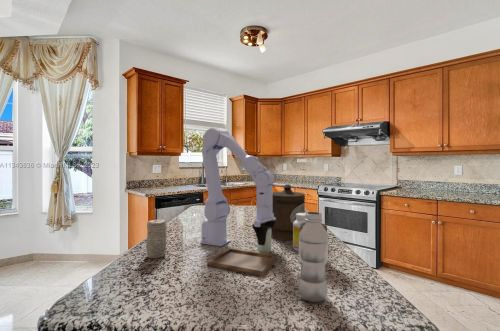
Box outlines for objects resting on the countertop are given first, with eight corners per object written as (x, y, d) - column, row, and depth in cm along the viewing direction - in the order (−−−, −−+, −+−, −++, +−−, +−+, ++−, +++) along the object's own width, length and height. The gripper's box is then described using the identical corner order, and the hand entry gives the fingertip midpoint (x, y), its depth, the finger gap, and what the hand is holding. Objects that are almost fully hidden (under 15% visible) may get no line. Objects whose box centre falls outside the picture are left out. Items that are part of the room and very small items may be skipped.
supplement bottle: (311, 253, 92) (312, 216, 91) (292, 251, 93) (292, 215, 93) (311, 247, 98) (311, 212, 98) (293, 245, 100) (293, 212, 99)
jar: (333, 265, 81) (333, 226, 81) (312, 270, 77) (312, 229, 77) (314, 256, 89) (314, 220, 89) (294, 260, 85) (294, 223, 85)
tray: (207, 265, 80) (207, 260, 80) (229, 251, 93) (229, 247, 93) (262, 276, 73) (262, 271, 73) (277, 259, 86) (277, 254, 86)
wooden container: (301, 242, 104) (302, 186, 104) (265, 238, 109) (265, 185, 109) (306, 232, 118) (307, 183, 117) (274, 229, 123) (274, 182, 123)
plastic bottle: (294, 292, 64) (295, 210, 64) (321, 291, 65) (322, 210, 65) (302, 307, 58) (303, 216, 58) (332, 305, 59) (333, 215, 58)
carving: (145, 261, 84) (145, 223, 84) (147, 253, 91) (147, 218, 91) (166, 259, 86) (166, 222, 86) (166, 251, 93) (166, 217, 93)
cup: (255, 251, 93) (255, 229, 93) (260, 247, 97) (260, 226, 97) (268, 254, 91) (268, 230, 91) (273, 249, 95) (273, 227, 95)
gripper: (268, 208, 86) (267, 250, 86) (281, 202, 99) (281, 238, 99) (248, 207, 88) (248, 247, 89) (263, 201, 102) (263, 236, 102)
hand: (264, 242), depth 94 cm, fingers closed on cup, 5 cm apart
